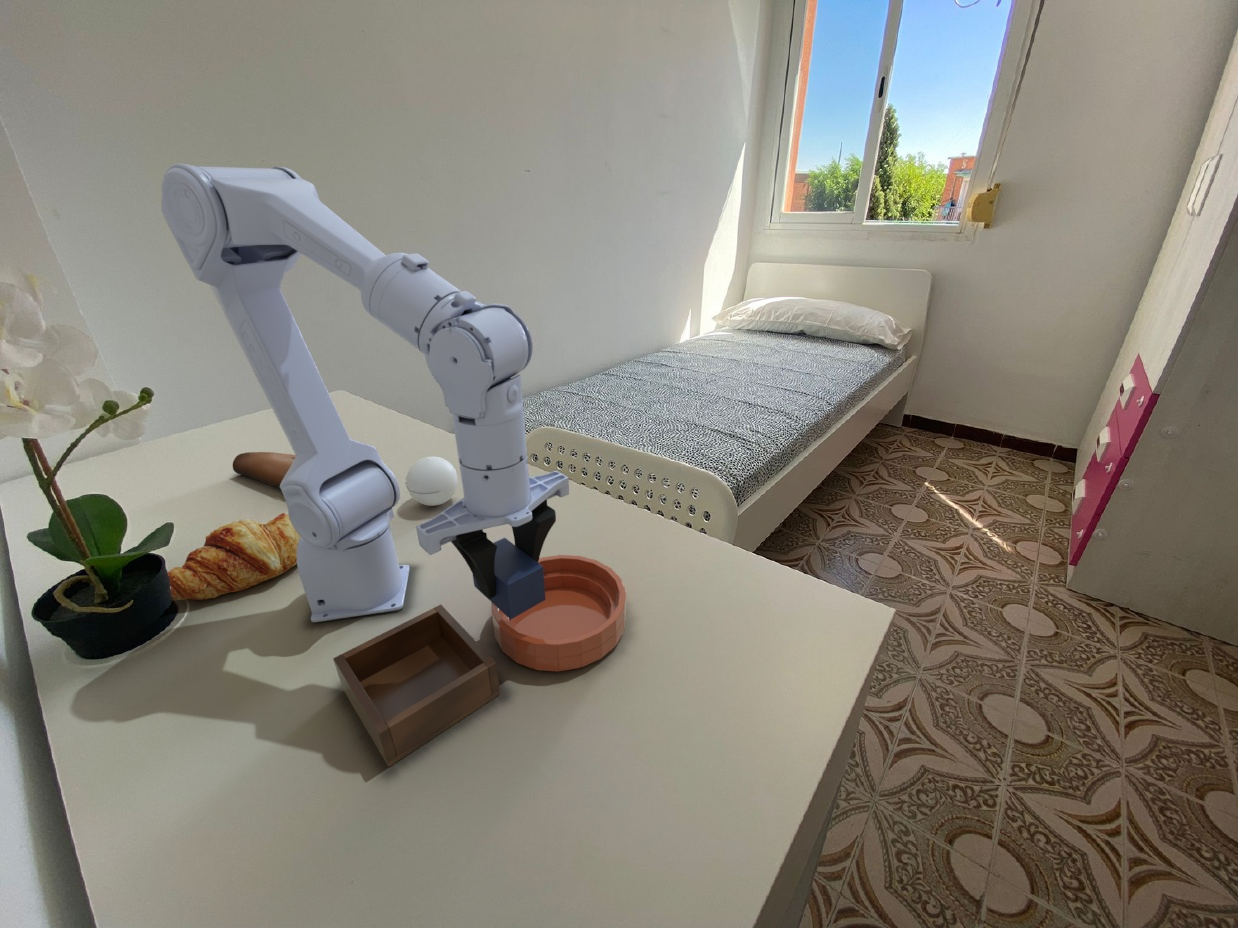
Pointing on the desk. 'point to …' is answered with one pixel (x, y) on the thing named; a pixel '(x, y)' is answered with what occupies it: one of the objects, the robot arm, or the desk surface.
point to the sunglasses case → (264, 466)
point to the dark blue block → (516, 580)
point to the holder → (416, 681)
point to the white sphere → (431, 481)
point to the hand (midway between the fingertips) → (507, 581)
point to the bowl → (566, 617)
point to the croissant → (236, 559)
